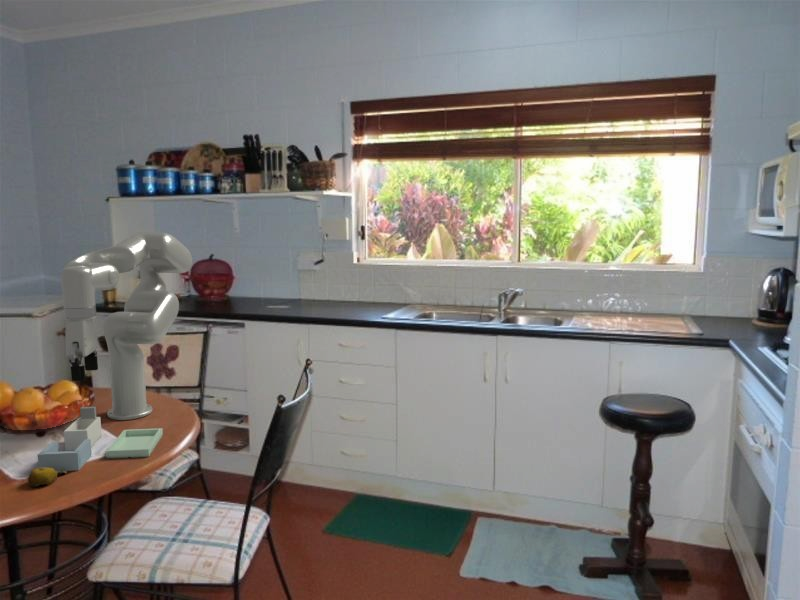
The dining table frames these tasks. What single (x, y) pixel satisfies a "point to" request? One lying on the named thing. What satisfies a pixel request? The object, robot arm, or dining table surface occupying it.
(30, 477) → the fruit
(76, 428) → the box
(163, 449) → the dining table surface
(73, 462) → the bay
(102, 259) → the robot arm
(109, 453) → the tray
